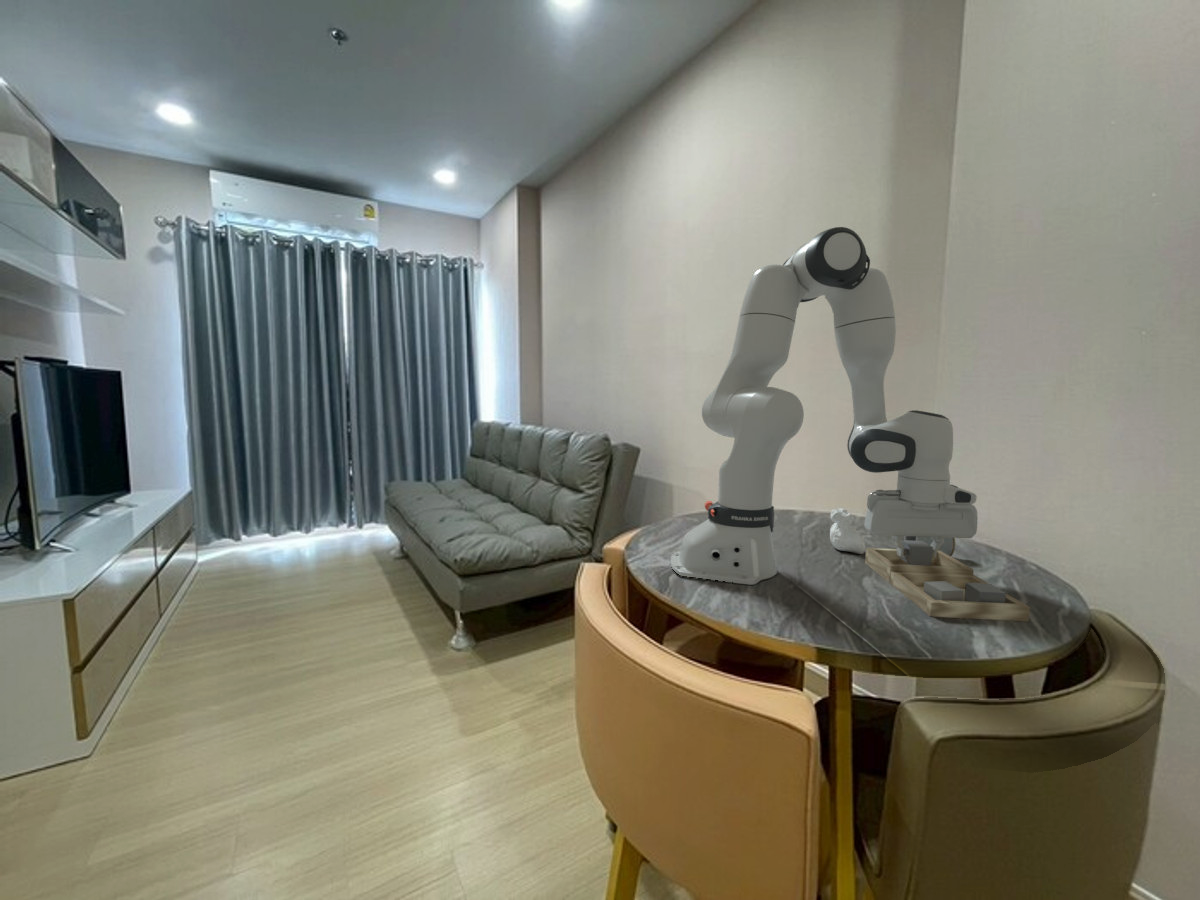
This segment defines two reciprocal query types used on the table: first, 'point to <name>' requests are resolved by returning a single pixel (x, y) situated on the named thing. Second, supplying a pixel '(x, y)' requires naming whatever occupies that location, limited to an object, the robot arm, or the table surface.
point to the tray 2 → (914, 591)
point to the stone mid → (918, 553)
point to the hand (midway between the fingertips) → (916, 556)
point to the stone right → (983, 593)
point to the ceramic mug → (946, 548)
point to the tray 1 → (891, 562)
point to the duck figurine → (845, 532)
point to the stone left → (943, 591)
